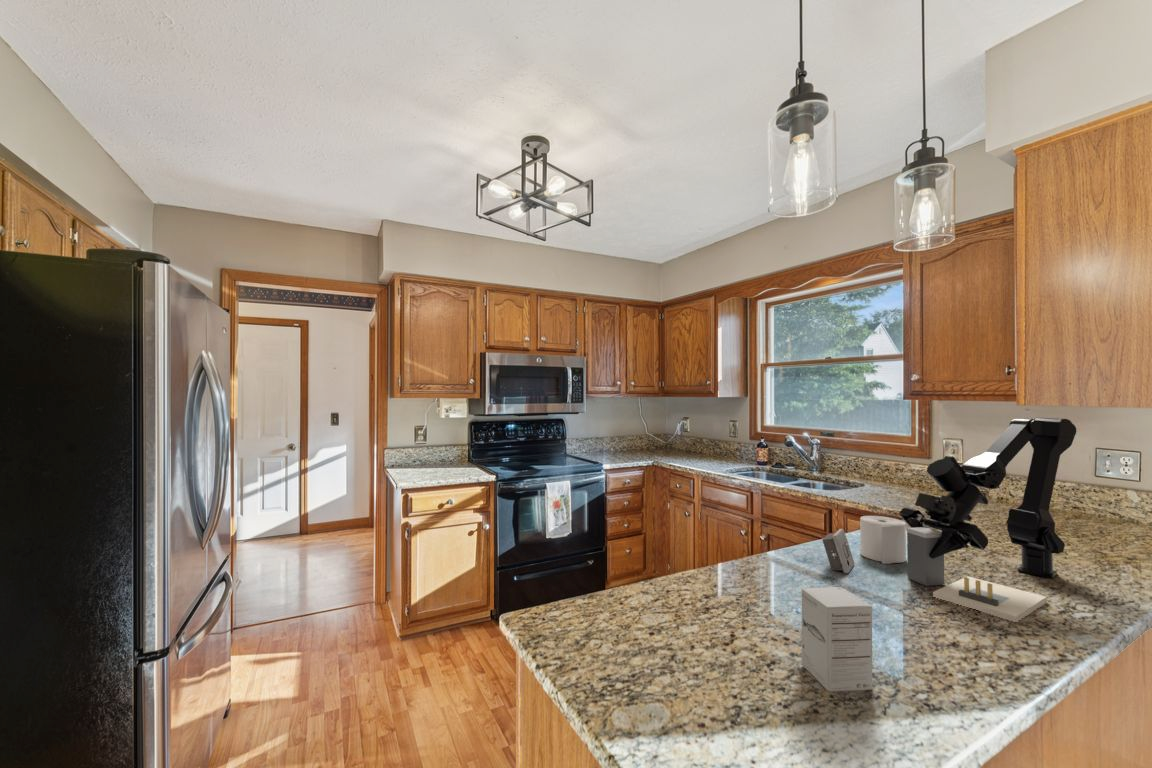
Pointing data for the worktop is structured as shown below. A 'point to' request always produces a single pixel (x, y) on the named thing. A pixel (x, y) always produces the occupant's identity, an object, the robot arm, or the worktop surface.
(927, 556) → the plug block
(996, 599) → the board
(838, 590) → the supplement box
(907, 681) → the worktop surface
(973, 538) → the robot arm
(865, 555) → the toilet tissue
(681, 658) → the worktop surface
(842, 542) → the electrical switch
